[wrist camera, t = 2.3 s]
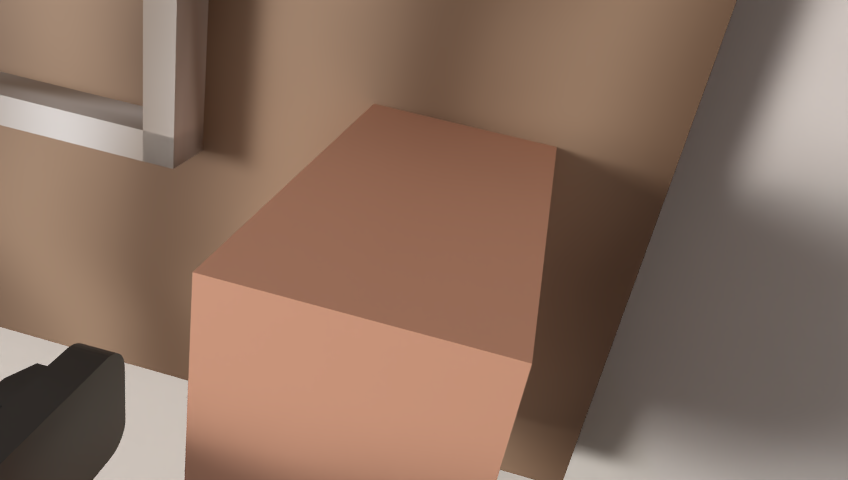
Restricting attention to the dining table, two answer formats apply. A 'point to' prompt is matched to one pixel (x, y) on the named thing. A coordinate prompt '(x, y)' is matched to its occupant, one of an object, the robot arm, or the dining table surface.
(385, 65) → the brown wooden tray
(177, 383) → the dining table surface
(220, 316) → the carton
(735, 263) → the dining table surface
